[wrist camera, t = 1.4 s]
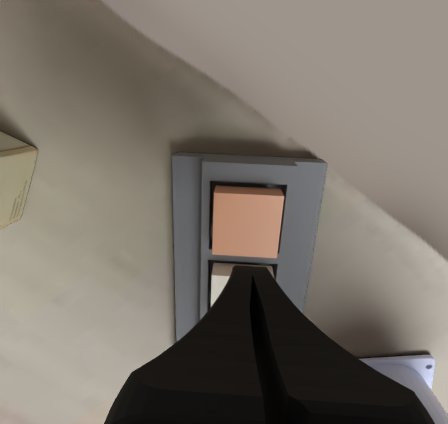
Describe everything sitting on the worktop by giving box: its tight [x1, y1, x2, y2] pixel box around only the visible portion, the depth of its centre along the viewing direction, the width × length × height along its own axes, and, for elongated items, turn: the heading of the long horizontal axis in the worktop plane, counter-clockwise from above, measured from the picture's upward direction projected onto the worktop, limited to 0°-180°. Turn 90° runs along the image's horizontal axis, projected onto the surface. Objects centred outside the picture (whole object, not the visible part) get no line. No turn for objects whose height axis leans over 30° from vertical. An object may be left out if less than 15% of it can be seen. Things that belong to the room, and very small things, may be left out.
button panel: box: [172, 152, 328, 342], centre depth 22 cm, size 18×10×3 cm, turn 178°
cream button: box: [211, 263, 274, 306], centre depth 20 cm, size 4×4×2 cm
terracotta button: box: [212, 185, 284, 258], centre depth 18 cm, size 4×4×2 cm
